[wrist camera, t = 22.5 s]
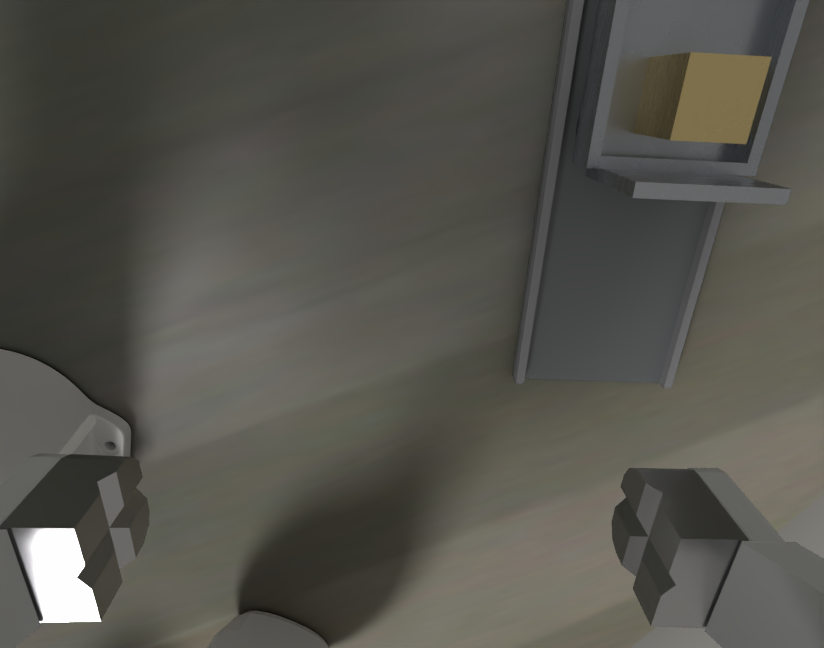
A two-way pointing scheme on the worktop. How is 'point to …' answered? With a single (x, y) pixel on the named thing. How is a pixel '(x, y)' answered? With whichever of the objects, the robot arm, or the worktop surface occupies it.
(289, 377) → the worktop surface
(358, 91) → the worktop surface
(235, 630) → the soap bottle
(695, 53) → the wooden block
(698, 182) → the long grey tray
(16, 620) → the robot arm
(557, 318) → the track
